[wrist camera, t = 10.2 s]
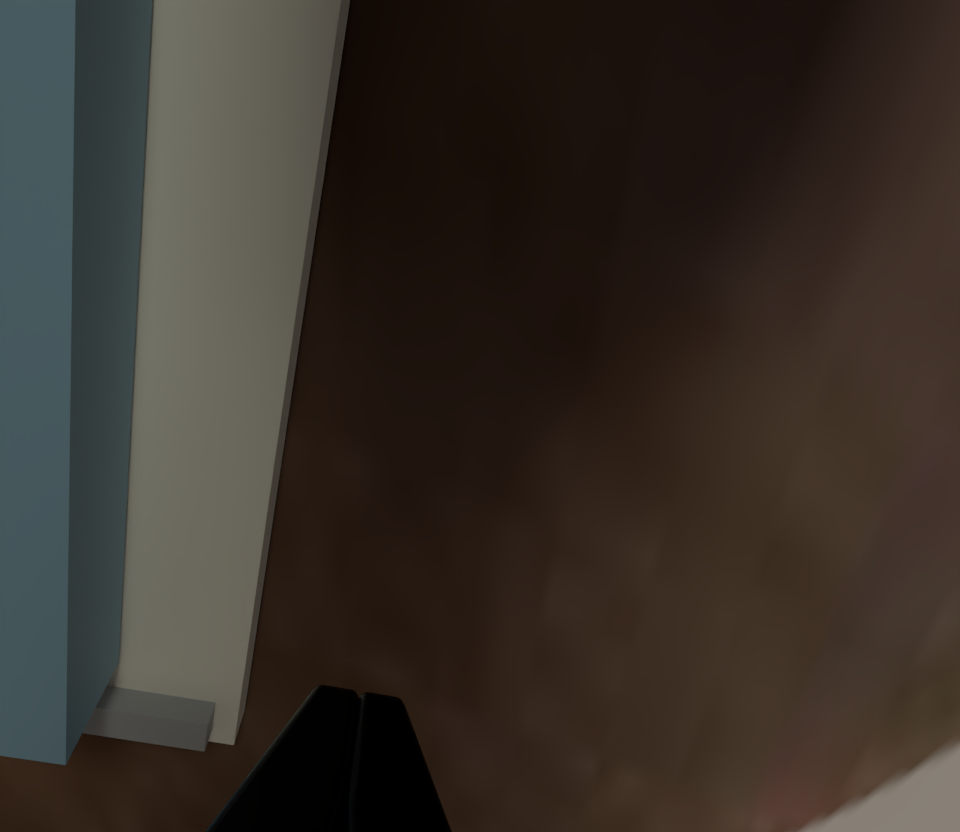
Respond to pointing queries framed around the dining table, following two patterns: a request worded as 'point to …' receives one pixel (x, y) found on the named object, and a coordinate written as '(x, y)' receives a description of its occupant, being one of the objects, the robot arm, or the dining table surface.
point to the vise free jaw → (66, 353)
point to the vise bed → (215, 347)
